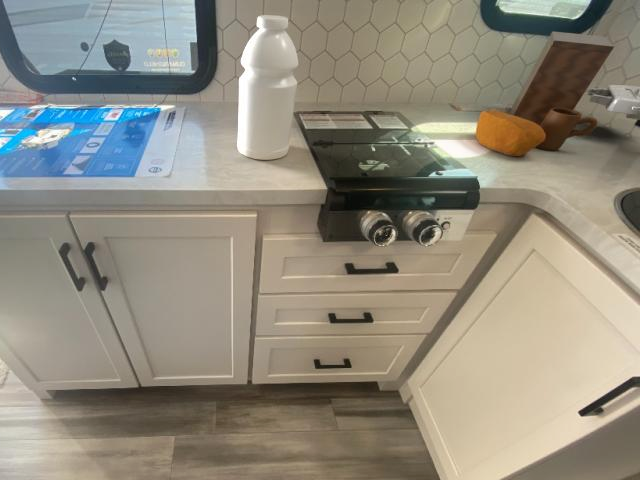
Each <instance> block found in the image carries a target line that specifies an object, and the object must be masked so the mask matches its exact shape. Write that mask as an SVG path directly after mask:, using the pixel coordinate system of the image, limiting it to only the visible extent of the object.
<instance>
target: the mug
mask: <svg viewBox="0 0 640 480" xmlns="http://www.w3.org/2000/svg"><path fill="white" fill-rule="evenodd" d="M583 124H589V125H588V126H587V127H586V128H584V129H575V128H576V126H578V125H583ZM540 127H541V128H542V129H543V130H544V132H545V135H546V137H545V140H544V141H543V142H542V143H541V144H539V145H537V146H536V147H535V148H537V149H540V150H543V151H544V150H545V151H551V152H553V151H558V150H560V149H561V148H562V146H563V145H564V144H565V143H566V141H567V139H570V138H573V137H584V136H586V135H589V134H591V133H592V132H593V131H594V130H595V129H596V128H597V127H598V119H597V118H596V117H593V116H584V117H583V113H581V112H579V111H577V110H570V109H565V108H552V109H551V110H550V111H549V113H548V114H547V116H546V117H545V119H544V120H543V122H542V124H541V125H540Z"/></svg>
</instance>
